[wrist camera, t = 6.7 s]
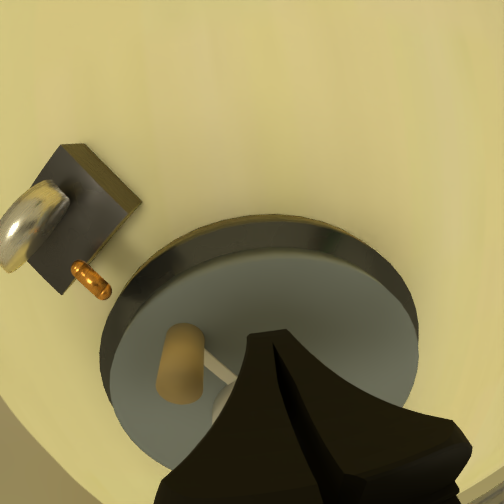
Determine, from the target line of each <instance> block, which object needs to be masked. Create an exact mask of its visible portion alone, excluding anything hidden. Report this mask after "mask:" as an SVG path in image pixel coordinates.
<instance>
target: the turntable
mask: <svg viewBox="0 0 504 504" xmlns="http://www.w3.org/2000/svg"><path fill="white" fill-rule="evenodd" d="M281 329H287V330H288V331H290V333H291V334H292V335H293V336H294V337H295V338H296V339H297V340H298V341H299V342H300V343H301V344H302V345H303V346H304V347H305V348H306V349H307V350H308V351H309V352H310V353H311V354H313V355H314V356H315V357H316V358H317V359H318V360H319V361H321V362H322V363H323V364H324V365H325V366H327V367H328V368H329V369H331V370H332V371H333V372H335V373H336V374H337V375H339V376H340V377H342V378H343V379H344V380H346V381H347V382H349V383H351V384H353V385H354V386H356V387H358V388H359V389H361V390H363V391H365V392H367V393H369V394H371V395H373V396H375V397H377V398H379V399H382V400H384V401H386V402H389V403H391V404H394V405H396V406H399V407H403V405H404V404H405V402H406V400H407V398H408V396H409V394H410V391H411V389H412V387H413V384H414V380H415V377H416V373H417V367H418V358H419V353H418V340H417V336H416V332H415V328H414V326H413V323H412V321H411V319H410V317H409V314H408V313H407V311H406V310H405V309H404V307H403V306H402V304H401V303H400V302H399V300H398V299H397V298H396V297H395V296H394V295H393V294H391V293H390V292H389V291H388V290H387V289H386V288H385V287H384V286H383V285H382V284H381V283H380V282H379V281H378V280H377V279H376V278H374V277H373V276H372V275H371V274H369V273H368V272H366V271H365V270H363V269H362V268H360V267H359V266H357V265H356V264H354V263H351V262H349V261H347V260H345V259H343V258H340V257H338V256H335V255H331V254H328V253H324V252H321V251H317V250H311V249H303V248H296V247H264V248H255V249H247V250H241V251H237V252H233V253H229V254H225V255H221V256H217V257H215V258H212V259H210V260H207V261H205V262H202V263H199V264H197V265H194V266H193V267H191V268H189V269H187V270H185V271H183V272H182V273H180V274H178V275H176V276H174V277H173V278H172V279H170V280H169V281H168V282H166V283H165V284H163V285H162V286H161V287H159V288H158V289H157V290H156V291H155V292H154V293H153V294H152V295H151V296H150V297H149V298H148V299H147V300H146V301H145V302H144V303H143V304H142V305H141V306H140V307H139V309H138V310H137V311H136V313H135V314H134V316H133V317H132V318H131V320H130V322H129V324H128V326H127V328H126V330H125V332H124V334H123V336H122V338H121V341H120V343H119V345H118V348H117V350H116V353H115V355H114V359H113V363H112V367H111V371H110V394H111V401H112V404H113V408H114V411H115V414H116V416H117V418H118V420H119V422H120V424H121V426H122V428H123V429H124V430H125V432H126V433H127V435H128V436H129V437H130V439H131V440H132V441H133V442H134V443H135V444H136V445H137V446H138V447H139V448H140V449H141V450H142V451H143V452H145V453H146V454H147V455H148V456H150V457H151V458H152V459H154V460H155V461H157V462H158V463H160V464H162V465H163V466H165V467H167V468H169V469H171V470H173V469H174V468H176V467H177V466H178V465H179V464H180V463H181V462H182V461H183V460H184V459H185V458H186V457H187V456H188V455H189V454H190V452H191V451H192V450H193V449H194V448H195V447H196V445H197V444H198V443H199V442H200V441H201V440H202V438H203V437H204V436H205V435H206V433H207V432H208V431H209V429H210V428H211V426H212V425H213V423H214V422H215V420H216V419H217V417H218V416H219V414H220V412H221V411H222V409H223V407H224V405H225V404H226V402H227V400H228V398H229V396H230V394H231V392H232V389H233V387H234V385H235V382H236V380H237V377H238V375H239V372H240V369H241V366H242V362H243V359H244V355H245V351H246V344H247V338H246V337H247V336H248V335H249V334H251V333H259V332H266V331H274V330H281Z"/></svg>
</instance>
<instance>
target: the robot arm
mask: <svg viewBox="0 0 504 504" xmlns="http://www.w3.org/2000/svg"><path fill="white" fill-rule="evenodd" d="M246 338H247V344H246V351H245V355H244V359H243V362H242V366H241V369H240V372H239V375H238V377H237V380H236V382H235V385H234V387H233V389H232V392H231V394H230V396H229V398H228V400H227V402H226V404H225V405H224V407H223V409H222V411H221V412H220V414H219V416H218V417H217V419H216V420H215V422H214V423H213V425H212V426H211V428H210V429H209V431H208V432H207V433H206V435H205V436H204V437H203V438H202V440H201V441H200V442H199V443H198V444H197V445H196V447H195V448H194V449H193V450H192V451H191V452H190V454H189V455H188V456H187V457H186V458H185V459H184V460H183V461H182V462H181V463H180V464H179V465H178V466H177V467H176V468H174V469H173V470H172V471H171V472H170V473H169V474H168V475H167V476H166V477H165V478H163V479H162V480H161V483H160V485H159V488H158V491H157V493H156V497H155V500H154V504H461V503H460V501H459V499H458V498H457V496H456V495H457V494H458V493H459V488H458V486H457V484H456V483H455V480H456V478H457V477H458V476H459V474H460V473H461V471H462V470H463V468H464V467H465V465H466V464H467V462H468V460H469V459H470V457H471V454H472V445H471V444H470V442H469V441H468V440H467V438H466V437H465V435H464V434H463V432H462V431H461V430H460V428H459V427H458V426H457V425H456V424H455V423H454V422H453V420H449V419H444V418H439V417H434V416H430V415H425V414H421V413H418V412H414V411H411V410H408V409H405V408H402V407H399V406H396V405H394V404H391V403H389V402H386V401H384V400H382V399H379V398H377V397H375V396H373V395H371V394H369V393H367V392H365V391H363V390H361V389H359V388H358V387H356V386H354V385H353V384H351V383H349V382H347V381H346V380H344V379H343V378H342V377H340V376H339V375H337V374H336V373H335V372H333V371H332V370H331V369H329V368H328V367H327V366H325V365H324V364H323V363H322V362H321V361H319V360H318V359H317V358H316V357H315V356H314V355H313V354H311V353H310V352H309V351H308V350H307V349H306V348H305V347H304V346H303V345H302V344H301V343H300V342H299V341H298V340H297V339H296V338H295V337H294V336H293V335H292V334H291V333H290V331H288V330H287V329H281V330H274V331H266V332H259V333H251V334H249V335H248V336H247V337H246ZM468 504H504V481H503V482H502V483H500V484H499V485H497V486H496V487H494V488H493V489H491V490H489V491H488V492H486V493H485V494H483V495H482V496H480V497H478V498H477V499H475V500H473V501H472V502H470V503H468Z"/></svg>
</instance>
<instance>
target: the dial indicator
mask: <svg viewBox="0 0 504 504" xmlns="http://www.w3.org/2000/svg"><path fill="white" fill-rule="evenodd" d="M141 203H142V201H141V200H140V199H139V198H138V197H137V196H136V195H135V194H134V193H133V192H132V191H131V190H130V189H129V188H128V187H127V186H126V185H125V184H124V183H123V182H122V181H121V180H120V179H119V178H118V177H117V176H116V175H115V174H114V173H113V172H112V171H111V170H110V169H109V168H108V167H107V166H106V165H105V164H104V163H103V162H102V161H101V160H100V159H99V158H98V157H97V156H96V155H95V154H94V153H93V152H92V151H91V150H90V149H89V148H88V147H87V146H86V145H85V144H62V145H60V146H59V147H58V149H57V150H56V151H55V153H54V154H53V155H52V157H51V158H50V159H49V161H48V162H47V164H46V165H45V167H44V168H43V169H42V171H41V172H40V174H39V175H38V177H37V178H36V180H35V181H34V183H33V184H32V186H31V187H30V189H29V190H27V191H26V192H25V193H24V194H23V195H21V196H20V197H19V198H18V199H17V200H16V201H15V202H14V203H13V204H12V206H11V207H10V208H9V209H8V210H7V212H6V213H5V214H4V215H3V217H2V218H1V220H0V266H1V267H2V268H3V269H4V270H5V271H6V272H7V273H12V272H14V271H15V270H17V269H18V268H19V267H21V266H22V265H23V264H24V263H25V262H26V261H28V262H29V264H30V265H31V266H32V267H33V268H34V269H35V270H36V271H37V272H38V273H39V274H40V275H41V276H42V277H43V278H44V279H45V280H46V281H47V282H48V283H49V284H50V285H51V286H52V287H53V288H54V289H55V290H56V291H57V292H58V293H60V294H61V295H63V294H64V292H65V291H66V290H67V289H68V288H69V287H70V286H71V285H72V283H73V282H74V281H75V280H76V279H77V280H78V281H79V282H81V283H82V284H83V285H84V286H85V287H86V288H87V289H88V290H89V291H90V292H91V293H92V294H94V295H95V296H96V297H97V298H98V299H100V300H106V299H108V298H109V297H110V296H111V293H112V289H111V286H110V285H109V284H108V283H107V282H106V281H105V280H104V279H103V278H102V277H101V276H100V275H99V274H98V273H96V272H95V271H94V270H93V269H92V268H91V267H90V266H89V264H90V262H91V261H92V260H93V259H94V257H95V256H96V255H97V254H98V252H99V251H100V250H101V249H102V248H103V246H104V245H105V244H106V243H107V242H108V240H109V239H110V238H111V237H112V236H113V235H114V233H115V232H116V231H117V230H118V229H119V228H120V226H121V225H122V224H123V223H124V222H125V221H126V220H127V218H128V217H129V216H130V215H131V214H132V213H133V212H134V211H135V209H136V208H137V207H138V206H139V205H140V204H141Z"/></svg>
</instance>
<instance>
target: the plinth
mask: <svg viewBox="0 0 504 504" xmlns="http://www.w3.org/2000/svg"><path fill="white" fill-rule="evenodd" d="M264 247H296V248H303V249H311V250H317V251H321V252H324V253H328V254H331V255H335V256H338V257H340V258H343V259H345V260H347V261H349V262H351V263H354V264H356V265H357V266H359V267H360V268H362V269H363V270H365V271H366V272H368V273H369V274H371V275H372V276H373V277H374V278H376V279H377V280H378V281H379V282H380V283H381V284H382V285H383V286H384V287H385V288H386V289H387V290H388V291H389V292H390V293H391V294H393V295H394V296H395V297H396V298H397V299H398V300H399V302H400V303H401V304H402V306H403V307H404V309H405V310H406V311H407V313H408V314H409V317H410V319H411V321H412V323H413V326H414V328H415V332H416V336H417V340H418V319H417V313H416V308H415V305H414V302H413V299H412V296H411V293H410V291H409V290H408V288H407V286H406V284H405V282H404V281H403V279H402V277H401V276H400V275H399V274H398V272H397V271H396V270H395V269H394V268H393V266H392V265H391V264H390V263H389V262H388V261H387V260H386V259H384V258H383V257H382V256H381V255H380V254H379V253H377V252H376V251H375V250H374V249H372V248H371V247H370V246H368V245H367V244H365V243H364V242H363V241H361V240H360V239H358V238H356V237H355V236H353V235H351V234H350V233H348V232H346V231H344V230H342V229H340V228H337V227H335V226H332V225H330V224H327V223H325V222H321V221H317V220H313V219H309V218H304V217H300V216H290V215H279V214H268V215H249V216H243V217H238V218H232V219H227V220H222V221H219V222H216V223H213V224H210V225H207V226H204V227H201V228H198V229H196V230H194V231H192V232H190V233H188V234H186V235H184V236H182V237H179V238H177V239H176V240H174V241H173V242H171V243H170V244H168V245H167V246H165V247H164V248H162V249H161V250H159V251H158V252H156V253H155V254H154V255H153V256H152V257H151V258H150V259H149V260H147V261H146V262H145V263H144V264H143V265H142V266H141V267H140V268H139V269H138V270H137V271H136V273H135V274H134V275H133V276H132V278H131V279H130V280H129V281H128V283H127V284H126V285H125V287H124V289H123V291H122V292H121V294H120V296H119V297H118V299H117V301H116V303H115V305H114V307H113V308H112V310H111V312H110V314H109V316H108V318H107V321H106V324H105V327H104V330H103V333H102V338H101V345H100V352H99V354H100V372H101V377H102V381H103V386H104V388H105V391H106V393H107V396H108V398H109V401H110V403H111V404H112V401H111V394H110V371H111V367H112V363H113V359H114V355H115V353H116V350H117V348H118V345H119V343H120V341H121V338H122V336H123V334H124V332H125V330H126V328H127V326H128V324H129V322H130V320H131V318H132V317H133V316H134V314H135V313H136V311H137V310H138V309H139V307H140V306H141V305H142V304H143V303H144V302H145V301H146V300H147V299H148V298H149V297H150V296H151V295H152V294H153V293H154V292H155V291H156V290H157V289H158V288H159V287H161V286H162V285H163V284H165V283H166V282H168V281H169V280H170V279H172V278H173V277H174V276H176V275H178V274H180V273H182V272H183V271H185V270H187V269H189V268H191V267H193V266H194V265H197V264H199V263H202V262H205V261H207V260H210V259H212V258H215V257H217V256H221V255H225V254H229V253H233V252H237V251H241V250H247V249H255V248H264ZM112 406H113V404H112Z"/></svg>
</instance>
